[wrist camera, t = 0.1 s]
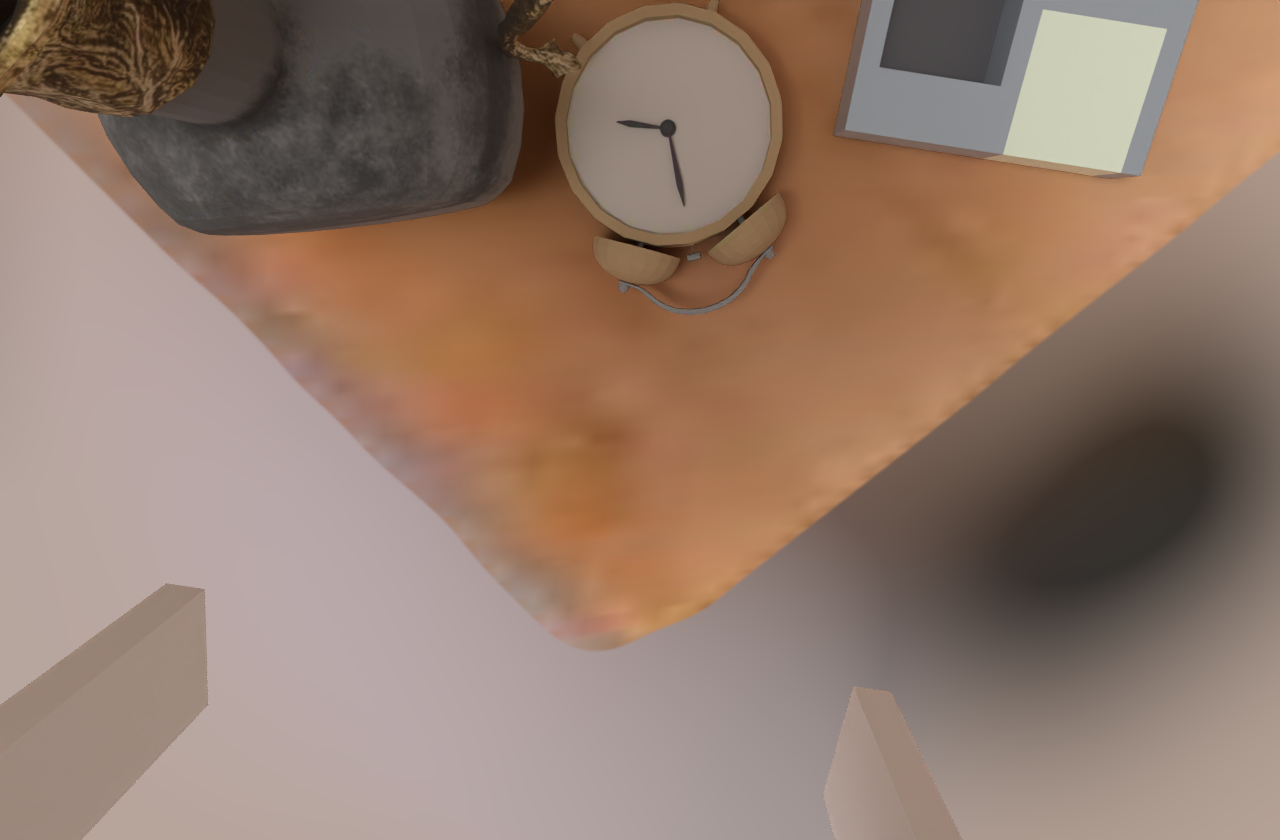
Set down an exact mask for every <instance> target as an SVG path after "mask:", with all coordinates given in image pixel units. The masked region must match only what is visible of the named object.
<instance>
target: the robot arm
mask: <svg viewBox="0 0 1280 840" xmlns="http://www.w3.org/2000/svg"><path fill="white" fill-rule="evenodd" d="M205 619H206V618H205V589H200V588H192V587H186V586H179V585H173V584H165V585H164V586H162V587H161V588H160V589H159V590H157V591H155V592H154V593H153V594H151V595H150V596H149V597H147V598H146V599H145V600H143V601H142V602H141V603H139V604H138V605H136V606H135V607H134V608H132V609H131V610H130V611H128V612H127V613H125V614H124V615H123V616H121V617H120V618H119V619H117V620H116V621H115V622H113V623H112V624H110V625H109V626H108V627H106V628H105V629H104V630H102V631H101V632H99V633H98V634H97V635H96V636H94V637H93V638H91V639H90V640H89V641H88V642H86V643H84V644H83V645H82V646H81V647H79V648H78V649H76V650H75V651H74V652H72V653H71V654H70V655H68V656H67V657H65V658H64V659H63V660H61V661H60V662H59V663H57V664H56V665H55V666H53V667H52V668H50V669H49V670H48V671H46V672H45V673H43V674H42V675H41V676H39V677H38V678H37V679H35V680H34V681H33V682H31V683H30V684H28V685H27V686H26V687H24V688H23V689H22V690H21V691H19V692H18V693H16V694H15V695H13V696H12V697H11V698H9V699H8V700H7V701H5V702H4V703H3V704H1V705H0V840H82V839H83V837H84V836H85V835H86V834H87V833H88V832H89V831H90V830H91V829H92V828H93V827H94V826H95V824H97V823H98V822H99V820H100V819H101V818H102V817H103V816H104V815H105V814H106V813H107V812H108V811H109V810H110V809H111V808H112V807H113V806H114V804H115V803H116V802H117V801H118V800H119V799H120V798H121V797H122V796H123V795H124V794H125V793H126V792H127V790H129V788H130V787H131V786H132V785H133V784H134V783H135V782H136V781H137V780H138V779H139V778H140V777H141V776H142V775H143V774H144V772H145V771H146V770H147V769H148V768H149V767H150V766H151V765H152V764H153V763H154V762H155V761H156V760H157V758H158V757H159V756H160V755H161V754H162V753H163V752H164V751H165V750H166V749H167V748H168V747H169V746H170V745H171V744H172V742H174V740H175V739H176V738H177V737H178V736H179V735H180V734H181V733H182V732H183V731H184V730H185V729H186V727H188V725H189V724H190V723H191V722H192V721H193V720H194V719H195V718H196V717H197V716H198V715H199V714H200V713H201V712H202V710H203V709H204V708H205V707H206V706H207V705H208V689H207V655H206V620H205ZM823 798H824V801H825V805H826V808H827V812H828V815H829V819H830V823H831V826H832V830H833V834H834V837H835V840H962V838H961V836H960V834H959V832H958V830H957V827H956V826H955V823H954V821H953V819H952V817H951V815H950V813H949V811H948V809H947V807H946V805H945V803H944V801H943V799H942V797H941V795H940V792H939V790H938V788H937V786H936V784H935V782H934V780H933V778H932V776H931V774H930V772H929V770H928V768H927V766H926V764H925V762H924V759H923V757H922V755H921V753H920V751H919V749H918V747H917V745H916V743H915V741H914V739H913V737H912V735H911V733H910V731H909V729H908V726H907V724H906V722H905V720H904V718H903V716H902V714H901V712H900V710H899V708H898V706H897V704H896V702H895V700H894V698H893V696H892V694H891V692H889V691H882V690H875V689H869V688H862V687H855V686H854V687H853V689H852V693H851V696H850V700H849V703H848V707H847V711H846V714H845V718H844V722H843V725H842V729H841V732H840V736H839V739H838V743H837V746H836V750H835V754H834V757H833V761H832V764H831V768H830V772H829V775H828V779H827V782H826V786H825V790H824V793H823Z"/></svg>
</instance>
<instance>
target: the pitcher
mask: <svg viewBox="0 0 1280 840" xmlns="http://www.w3.org/2000/svg"><path fill="white" fill-rule="evenodd" d="M551 1H553V0H515V1H514V3H513V4H512V5H511V6H510V8H509V10H508V12H507V14H505V12H504V9H503V7H502V4H501V2H500V0H0V97H1V96H2V94H3V93H10V94H18V95H25V96H33V97H37V98H40V99H43V100H46V101H49V102H52V103H54V104H57V105H60V106H62V107H65V108H68V109H74V110H79V111H85V112H90V113H97V114H98V116H99V119H100V121H101V123H102V126H103V128H104V130H105V133H106V135H107V137H108V138H109V140H110V141H111V143H112V145H113V146H114V148H115V149H116V151H117V153H118V154H119V156H120V157H121V159H122V161H123V162H124V164H125V165H126V167H127V168H128V170H129V172H130V173H131V175H132V176H133V177H134V178H135V179H136V180H137V182H138V183H139V184H140V185H141V186H142V187H143V189H144V190H145V191H146V192H147V193H148V194H149V196H150V197H151V198H152V199H153V200H154V201H155V203H156V204H157V205H158V206H159V207H160V208H161V209H162V210H163V211H164V212H166V213H167V214H168V215H169V216H170V217H171V218H172V219H173V220H174V221H175V222H177V223H178V224H179V225H181V226H184V227H187V228H189V229H192V230H194V231H197V232H199V233H204V234H209V235H265V234H281V233H296V232H310V231H320V230H331V229H341V228H350V227H359V226H367V225H375V224H384V223H391V222H398V221H404V220H411V219H417V218H423V217H429V216H434V215H440V214H445V213H450V212H455V211H460V210H465V209H469V208H474V207H478V206H482V205H485V204H488V203H489V202H490V201H492V200H493V199H495V198H496V197H498V196H499V195H500V194H501V193H502V192H503V191H504V190H505V189H506V187H507V186H508V185H509V184H510V183H511V181H512V178H513V174H514V170H515V167H516V163H517V159H518V156H519V152H520V148H521V139H522V128H523V116H524V101H523V88H522V75H521V67H520V63H519V59H521V60H524V61H528V62H537V63H540V64H543V65H545V66H546V67H548V68H549V69H550V70H551V71H552V73H553V75H554V77H556V78H559V77H562V75H563V76H565V75H566V74H567V73H568V72H573V73H574V72H576V71H577V70H579V69H581V67H582V66H581V63H580V62H579V61H578V59H577V58H576V57H575V56H574V55H573V54H571V53H569V52H566V51H560V49H559V48H558V46H557V43H556V41H555V38H554V39H553V40H552V41H549V42H547V43H546V44H545V45H544V46H543V47H541V48H539V49H536V48H532V47H528V46H524V45H523V44H521V43H520V42H518V41H517V39H518V36H519V35H520V34H523V33H525V32H526V31H528V30H529V29H530V28H531V27H532V26H533V25H534V24H535V23H536V22H537V21H538V20H539V18H540V17H541V16H542V15H543V14H544V13H545V12H546V10H547V9H548V7H549V5H550V4H551Z"/></svg>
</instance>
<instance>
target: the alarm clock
mask: <svg viewBox="0 0 1280 840" xmlns="http://www.w3.org/2000/svg"><path fill="white" fill-rule="evenodd" d="M718 5H719V0H710V1H709V3H708V5H707V6H706V9H703V8H699V7H695V6H691V5H687V4H683V3H669V4H659V5H648V6H642V7H639V8H637V9H635V10H633V11H631V12H629V13H626V14H624V15H622V16H620V17H618V18H616V19H613V20H611V21H609V22H608V23H607V24H606V25H605V26H604V27H602V28H601V29H600V30H599V31H598V32H597V33H596V34H595V35H594V36H593V37H592V38H591V39H590V40H589V41H587V40H586V39H584V38H583V37H582V36H580V35H579V34H577V33H576V32H575V33H574V34H573V35H572V36H571V40H572V41H573V43H574V44H575V46H576V47H577V49H578V50H579V52H578V54H577V56H576V58H577V59H578V61H579V62H580V63H581V66H582V67H581V69H579V70H577V71H576V72H574V73H573V72H568V73H567V74H566V76H565V78H564V79H563V81H562V86H561V91H560V96H559V100H558V105H557V110H556V115H555V128H556V140H557V151H558V158H559V160H560V162H561V165H562V167H563V170H564V172H565V175H566V177H567V180H568V182H569V185H570V187H571V190H572V191H573V193H574V194H575V195H576V196H577V197H578V199H579V200H580V201H581V202H582V204H583V205H584V206H585V207H586V208H587V210H588V211H589V212H590V213H591V215H592V216H593V217H594V218H595V219H597V220H598V221H599V222H600V223H602V224H603V225H605V226H606V227H608V228H610V229H611V230H613V231H614V232H616V233H617V234H619V235H620V236H622V237H623V238H625V239H627V240H629V241H633V242H637V243H638V244H637V246H634V245H630V244H626V243H622V242H618V241H614V240H610V239H606V238H601V237H596V236H594V241H593V252H594V256H595V258H596V261H597V262H598V264H599V265H600V267H601V268H602V269H603V270H604V271H606V272H607V273H608V274H610V275H611V276H613V277H615V278H617V279H619V283H620V284H619V291H621V292H624V293H625V292H627V291H628V289H629V287H630V286H631V287H633V288H636V289H638V290H640V291H641V292H642V293H644V294H645V295H646V296H647V297H648V298H649V299H650V300H651V301H652V302H654V303H655V304H656V305H658V306H660V307H661V308H663V309H665V310H667V311H670V312H673V313H676V314H687V315H695V314H704V313H708V312H711V311H714V310H717V309H719V308H721V307H723V306H725V305H726V304H728V303H730V302H732V301H733V300H734V299H735V298H736V297H737V296H738V295H739V294H740V293H741V292H742V291H743V290H744V288H745V287H746V285H747V284H748V282H749V280H750V278H751V276H752V274H753V272H754V271H755V269H756V267H757V266H758V264H759V263H760V261H761V260H762V258H763V257H765V258H767V259H769V260H770V259H771V258H773V257H774V256H775V253H774V250H773V249H772V248H773V247H774V246H773V245H772V243H773V242H774V241H775V240H776V239H777V237H778V236H779V234H780V233H781V231H782V229H783V227H784V225H785V221H786V206H785V203H784V201H783V198H782V197H781V195H780V194H779V192H778V193H777V194H775V195H774V196H773V197H772V198H771V199H770V200H768V201H767V202H766V203H765V204H764V205H762V206H761V207H760V208H759V209H758V210H757V211H755V212H754V213H753V214H752V215H751V216H750V217H749V218H748V219H746V220H745V219H744V217H743V216H742V215H743V214H744V213H746V212H747V210H749V209H750V208H751V207H752V206H753V205H754V203H755V202H756V200H757V198H758V197H759V195H760V194H761V192H762V191H763V189H764V187H765V186H766V184H767V183H768V181H769V180H770V178H771V176H772V175H773V171H774V168H775V164H776V160H777V157H778V153H779V150H780V146H781V142H782V139H783V129H782V99H781V96H780V93H779V90H778V87H777V84H776V81H775V78H774V75H773V72H772V69H771V66H770V64H769V62H768V61H767V59H766V58H765V57H764V55H763V54H762V53H761V51H760V50H759V49H758V47H757V46H756V45H755V43H754V42H753V41H752V39H751V38H750V37H749V35H748V34H747V33H746V32H745V31H743V30H742V29H740V28H739V27H737V26H736V25H734V24H733V23H731V22H730V21H728V20H727V19H725V18H724V17H723V16H721V15H720V14H718V13H717V12H718ZM736 220H737V221H738V222H739V223H740V225H739V226H738V227H737V228H736V229H735V230H733V231H732V232H731V233H730V234H729V235H728V236H726V237H725V238H724V239H722V240H721V241H720V242H719V243H718V244H717V245H715V246H714V247H713V248H712V249H711V250H710V251H708V252H707V254H708V255H709V256H710V257H711V258H713V259H714V260H715V261H717V262H719V263H721V264H723V265H739V264H743V263H745V262H748V261H750V260H752V259H754V258H756V257H757V256H759V255H760V254H761V255H760V256H759V257H758V258H757V259H756V260H755V262H754V263H753V264H752V266H751V267H750V268H749V270H748V272H747V274H746V276H745V278H744V280H743V281H742V283H741V284H740V285H739V287H738V288H737V289H736V290H735V291H734V292H733V293H732V294H731V295H730V296H728V297H727V298H725V299H723V300H721V301H719V302H718V303H716V304H713V305H710V306H707V307H704V308H696V309H683V308H675V307H672V306H669V305H666V304H664V303H662V302H661V301H659V300H657V299H656V298H655V297H653V296H652V295H651V294H650V293H649V292H647V291H646V290H645V289H643V288H641V287H639V286H636V285H633V284H638V285H651V284H657V283H661V282H663V281H665V280H667V279H668V278H669V277H671V276H672V274H673V273H674V272H675V270H676V269H677V267H678V265H679V262H680V259H679V258H676V257H673V256H670V255H667V254H663V253H660V252H656V251H653V250H649V249H645V248H643V247H644V245H648V246H652V247H656V248H668V247H682V246H691V247H692V245H694V244H696V243H699V242H701V241H704V240H706V239H709V238H711V237H713V236H716V235H718V234H721V233H722V232H723V231H724V230H725V229H727V228H728V227H729V226H730V225H731V224H733V223H734V222H735V221H736ZM771 245H772V246H771ZM692 252H693V249H692ZM700 258H701V254H700V253H699V252H697V253H693V254H689V255H687V260H688V261H693V260H697V259H700ZM620 280H621V281H620ZM630 283H632V284H630Z"/></svg>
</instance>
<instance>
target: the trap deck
mask: <svg viewBox="0 0 1280 840" xmlns="http://www.w3.org/2000/svg"><path fill="white" fill-rule="evenodd" d="M1198 1H1199V0H862V2H861V7H860V11H859V16H858V21H857V26H856V30H855V35H854V40H853V45H852V50H851V54H850V59H849V64H848V69H847V73H846V78H845V83H844V88H843V92H842V97H841V102H840V107H839V111H838V116H837V121H836V126H835V130H834V135H833V136H840V137H846V138H852V139H859V140H865V141H872V142H878V143H884V144H891V145H897V146H904V147H910V148H917V149H923V150H929V151H936V152H942V153H949V154H955V155H962V156H968V157H974V158H981V159H987V160H994V161H1000V162H1007V163H1013V164H1019V165H1026V166H1032V167H1039V168H1045V169H1051V170H1058V171H1064V172H1071V173H1077V174H1084V175H1090V176H1096V177H1103V178H1109V179H1113V178H1124V177H1135V176H1141V173H1142V170H1143V167H1144V164H1145V161H1146V158H1147V155H1148V152H1149V149H1150V146H1151V143H1152V140H1153V137H1154V134H1155V131H1156V128H1157V125H1158V122H1159V119H1160V116H1161V113H1162V110H1163V107H1164V104H1165V101H1166V98H1167V95H1168V92H1169V88H1170V85H1171V82H1172V79H1173V76H1174V73H1175V70H1176V67H1177V64H1178V61H1179V58H1180V55H1181V52H1182V49H1183V46H1184V43H1185V40H1186V37H1187V34H1188V31H1189V28H1190V25H1191V22H1192V19H1193V16H1194V13H1195V10H1196V7H1197V4H1198Z"/></svg>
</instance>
